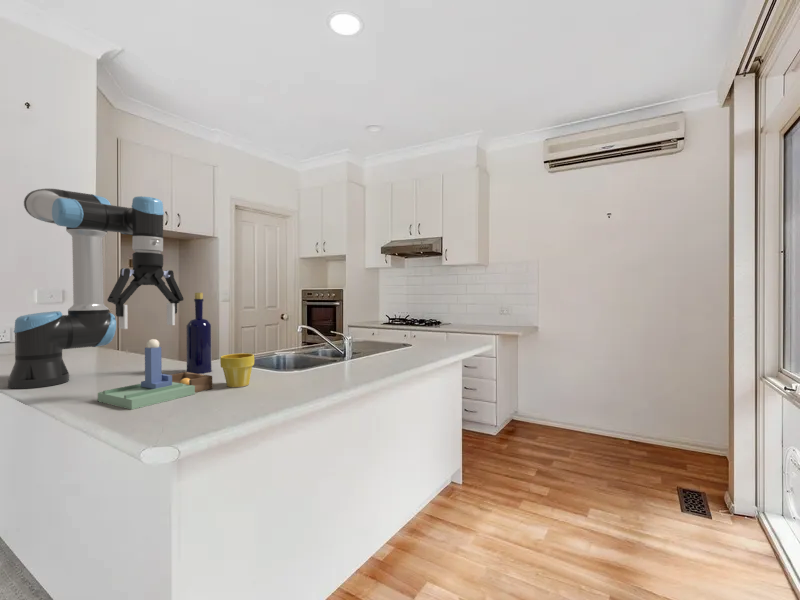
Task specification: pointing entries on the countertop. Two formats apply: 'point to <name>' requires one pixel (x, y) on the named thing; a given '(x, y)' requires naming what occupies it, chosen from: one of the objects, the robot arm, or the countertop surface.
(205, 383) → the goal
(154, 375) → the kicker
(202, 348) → the bottle
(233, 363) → the plant pot
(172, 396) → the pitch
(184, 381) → the ball
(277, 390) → the countertop surface
